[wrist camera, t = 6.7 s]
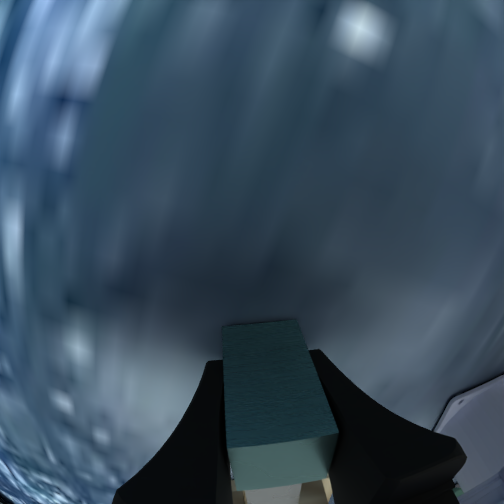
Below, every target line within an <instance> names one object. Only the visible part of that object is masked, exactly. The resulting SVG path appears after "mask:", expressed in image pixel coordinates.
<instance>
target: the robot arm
mask: <svg viewBox="0 0 504 504" xmlns="http://www.w3.org/2000/svg"><path fill="white" fill-rule="evenodd" d="M308 351H309V353H310V356H311V359H312V361H313V364H314V367H315V369H316V372H317V375H318V377H319V380H320V382H321V385H322V388H323V390H324V393H325V396H326V398H327V401H328V404H329V406H330V409H331V412H332V415H333V417H334V420H335V423H336V425H337V428H338V431H339V435H338V439H337V443H336V446H335V450H334V454H333V457H332V461H331V464H330V467H329V471H328V474H329V479H330V483H331V488H332V492H333V497H334V502H335V504H504V374H503V375H501V376H499V377H497V378H495V379H493V380H491V381H489V382H487V383H485V384H483V385H481V386H479V387H476V388H474V389H472V390H470V391H467V392H465V393H463V394H460V395H458V396H456V397H454V398H452V399H451V400H450V402H449V403H448V405H447V407H446V409H445V411H444V413H443V415H442V417H441V419H440V420H439V422H438V424H437V426H436V428H435V429H434V431H431V430H428V429H426V428H423V427H421V426H418V425H416V424H414V423H412V422H410V421H408V420H406V419H404V418H402V417H400V416H398V415H396V414H394V413H393V412H391V411H389V410H388V409H386V408H385V407H383V406H382V405H380V404H379V403H377V402H376V401H375V400H373V399H372V398H371V397H369V396H368V395H367V394H366V393H364V392H363V391H362V390H361V389H359V388H358V387H357V386H356V385H355V384H354V383H353V382H352V381H351V380H349V379H348V378H347V377H346V376H345V375H344V374H343V373H342V372H341V371H340V370H339V369H338V368H337V367H336V366H335V365H334V364H333V363H332V362H331V361H330V360H329V359H328V357H327V356H326V355H325V354H324V353H323V352H322V351H321V350H320V349H315V350H308ZM454 477H455V478H456V480H457V482H458V484H459V486H460V487H461V489H462V491H463V493H464V494H462V495H460V496H458V497H456V495H455V493H454V491H453V489H454V488H455V484H454V482H453V480H452V479H453V478H454ZM112 504H233V497H232V486H231V475H230V460H229V455H228V451H227V440H226V420H225V398H224V372H223V360H212V361H208V362H207V363H206V365H205V369H204V372H203V375H202V378H201V381H200V383H199V386H198V388H197V390H196V392H195V394H194V397H193V399H192V401H191V403H190V405H189V406H188V408H187V410H186V412H185V414H184V416H183V417H182V419H181V421H180V422H179V424H178V425H177V427H176V428H175V430H174V431H173V433H172V434H171V436H170V437H169V438H168V440H167V441H166V442H165V443H164V445H163V446H162V447H161V449H160V450H159V451H158V452H157V453H156V454H155V456H154V457H153V458H152V459H151V460H150V461H149V462H148V463H147V464H146V465H145V466H144V467H143V468H142V469H141V470H140V471H139V472H138V473H137V474H136V475H134V476H133V477H132V478H131V479H130V480H128V481H127V482H126V483H125V484H123V485H122V486H121V487H120V488H118V489H117V491H116V493H115V496H114V498H113V502H112Z"/></svg>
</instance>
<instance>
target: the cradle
mask: <svg viewBox="0 0 504 504" xmlns="http://www.w3.org/2000/svg"><path fill="white" fill-rule="evenodd" d="M231 486H232V497H233V504H247V499H246V494H245V490H244V491H237V489H236V485H235V481H234V480H231ZM331 494H332V488H331V483H330V479H329V474H327V477H326V479H322V480H317V481H311V482H306V483H302V485H301V491H300V496H299V501H298V504H328V502H329V499H330V497H331Z"/></svg>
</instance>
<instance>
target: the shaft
mask: <svg viewBox="0 0 504 504" xmlns="http://www.w3.org/2000/svg"><path fill="white" fill-rule="evenodd" d="M222 340H223V372H224V398H225V420H226V440H227V451H228V455H229V460H230V464H231V468H232V472H233V477H234V481H235V485H236V489H237V491H244V490H245V494H246V499H247V504H298V501H299V496H300V491H301V485H302V483H306V482H311V481H317V480H322V479H326V477H327V474H328V471H329V467H330V464H331V461H332V457H333V454H334V450H335V446H336V443H337V439H338V435H339V431H338V428H337V425H336V423H335V420H334V417H333V415H332V412H331V409H330V406H329V404H328V401H327V398H326V396H325V393H324V390H323V388H322V385H321V382H320V380H319V377H318V375H317V372H316V369H315V367H314V364H313V361H312V359H311V356H310V353H309V351H308V348H307V346H306V343H305V340H304V338H303V335H302V333H301V330H300V327H299V325H298V322H297V320H296V319H294V320H285V321H276V322H267V323H257V324H246V325H235V326H223V327H222Z"/></svg>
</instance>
